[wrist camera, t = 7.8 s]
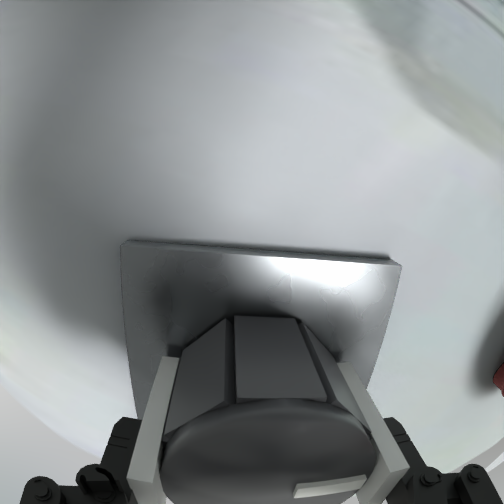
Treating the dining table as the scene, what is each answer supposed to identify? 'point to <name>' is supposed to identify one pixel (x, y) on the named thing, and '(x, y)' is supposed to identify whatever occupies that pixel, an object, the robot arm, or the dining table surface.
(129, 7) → the dining table surface
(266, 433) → the knob
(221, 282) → the metal plate
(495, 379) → the mechanical component
